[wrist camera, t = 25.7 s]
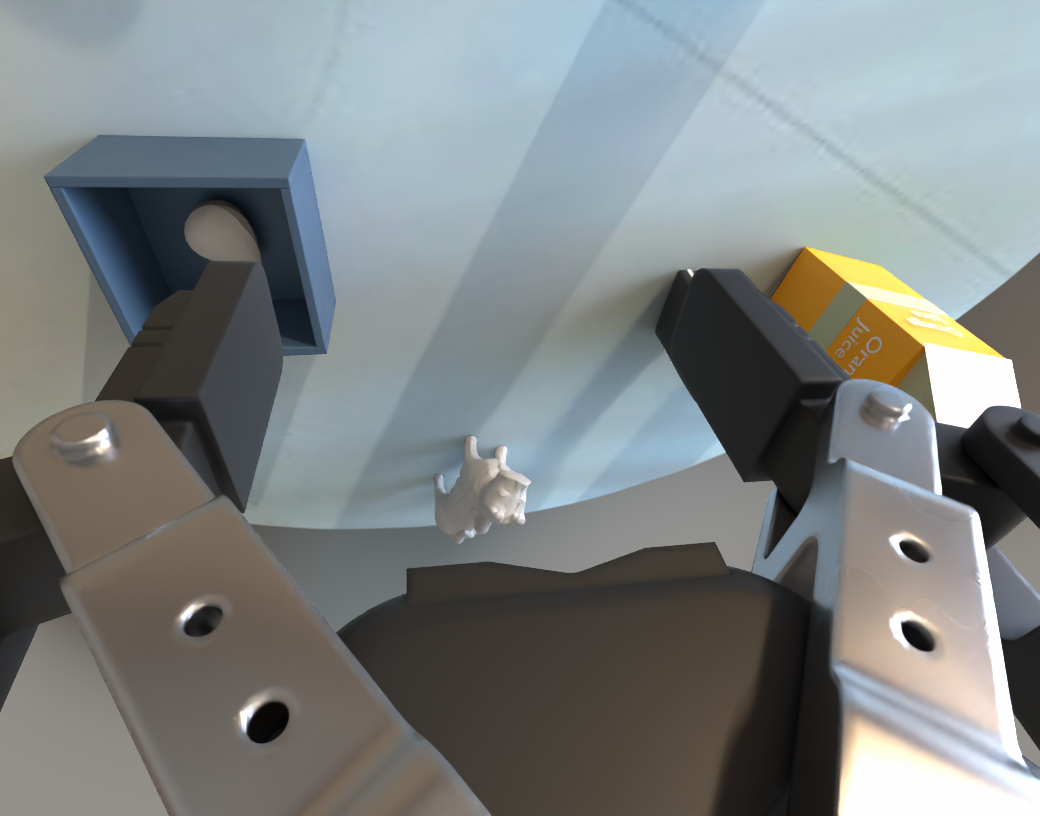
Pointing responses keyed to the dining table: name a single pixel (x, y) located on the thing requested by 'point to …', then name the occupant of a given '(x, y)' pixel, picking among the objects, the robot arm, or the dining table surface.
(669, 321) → the battery charger
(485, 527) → the dog figurine
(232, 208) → the cream rounded dome
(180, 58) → the dining table surface
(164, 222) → the blue open box
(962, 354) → the orange juice
